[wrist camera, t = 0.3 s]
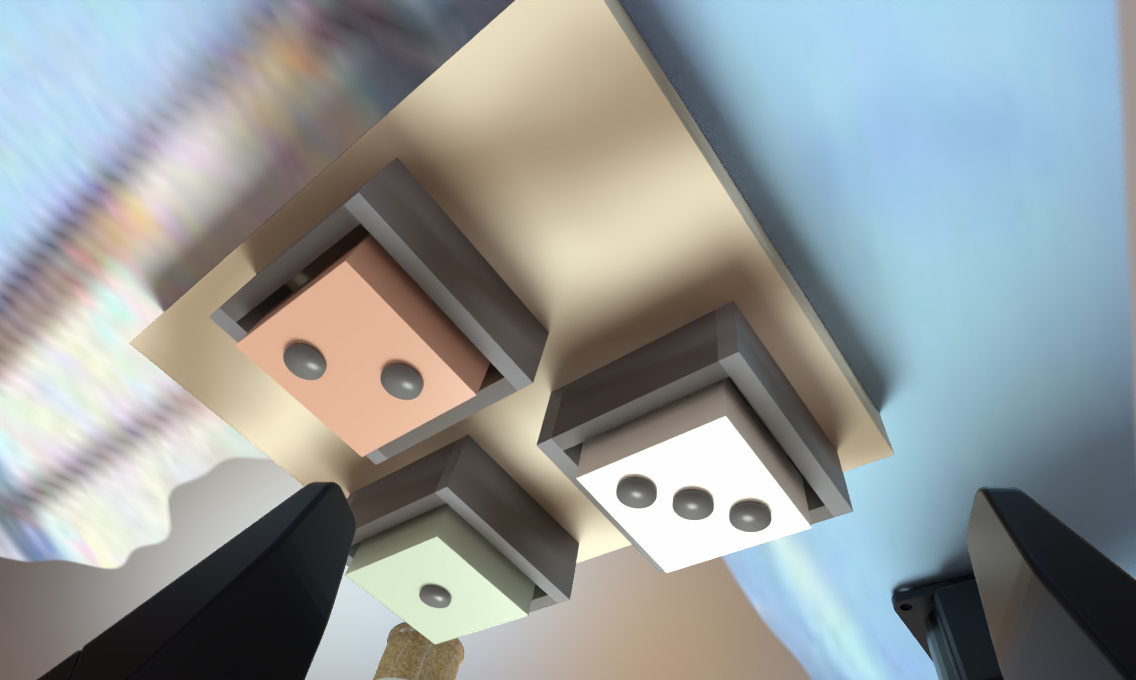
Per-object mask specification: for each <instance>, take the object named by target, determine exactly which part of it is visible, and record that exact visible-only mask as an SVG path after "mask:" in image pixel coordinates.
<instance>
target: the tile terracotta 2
mask: <svg viewBox="0 0 1136 680" xmlns="http://www.w3.org/2000/svg"><path fill="white" fill-rule="evenodd" d="M235 346H236V347H237V348H238V349H239V350H240V351H241V352H243V353H244V354H245V355H246V356H247V357H248V358H249V359H251V360H252V361H253V362H254V363H255V364H256V365H257V366H259V367H260V368H261V369H262V370H263V371H264V372H265V373H267V374H268V375H269V376H270V377H271V378H272V379H273V380H274V381H276V382H277V383H278V384H279V385H280V386H281V387H282V388H284V389H285V390H286V391H287V392H288V393H289V394H290V395H292V396H293V397H294V398H295V399H296V400H297V401H298V402H300V403H301V404H302V405H303V406H304V407H305V408H306V409H308V410H309V411H310V412H311V413H312V414H313V415H314V416H315V417H317V418H318V419H319V420H320V421H321V422H322V423H323V424H325V425H326V426H327V427H328V428H329V429H330V430H331V431H333V432H334V433H335V434H336V435H337V436H338V437H339V438H341V439H342V440H343V441H344V442H345V443H346V444H347V445H349V446H350V447H351V448H352V449H353V450H354V451H355V452H357V453H358V454H359V455H360V456H361V457H363V456H365V455H367V454H368V453H370V452H372V451H374V450H376V449H378V448H380V447H381V446H383V445H385V444H387V443H389V442H391V441H393V440H394V439H396V438H398V437H400V436H402V435H404V434H406V433H407V432H409V431H411V430H413V429H415V428H417V427H419V426H420V425H422V424H424V423H426V422H428V421H430V420H432V419H433V418H435V417H437V416H439V415H441V414H443V413H445V412H446V411H448V410H450V409H452V408H454V407H456V406H458V405H459V404H461V403H463V402H465V401H467V400H469V399H471V398H472V397H474V396H476V395H477V393H478V391H479V388H480V386H481V384H482V381H483V379H484V377H485V374H486V372H487V369H488V367H489V365H490V361H489V360H488V359H487V358H486V357H485V356H484V355H483V353H482V352H481V351H480V350H479V349H478V348H477V347H476V346H475V345H474V344H473V343H472V342H471V341H470V340H469V339H468V337H467V336H466V335H465V334H464V333H463V332H462V331H461V330H460V329H459V328H458V327H457V326H456V325H455V324H454V322H453V321H452V320H451V319H450V318H449V317H448V316H447V315H446V314H445V313H444V312H443V311H442V310H441V309H440V308H439V306H438V305H437V304H436V303H435V302H434V301H433V300H432V299H431V298H430V297H429V296H428V295H427V294H426V293H425V291H424V290H423V289H422V288H421V287H420V286H419V285H418V284H417V283H416V282H415V281H414V280H413V279H412V278H411V277H410V275H409V274H408V273H407V272H406V271H405V270H404V269H403V268H402V267H401V266H400V265H399V264H398V263H397V262H396V260H395V259H394V258H393V257H392V256H391V255H390V254H389V253H388V252H387V251H386V250H385V249H384V248H383V247H382V246H381V244H380V243H379V242H378V241H377V240H376V239H375V238H374V237H373V236H372V235H371V234H370V233H368V234H367V235H366V236H364V237H363V238H362V239H360V240H359V241H358V242H357V243H355V244H354V245H353V246H351V247H350V248H349V249H348V250H346V251H345V252H344V253H342V254H341V255H340V256H339V257H337V258H336V259H335V260H333V261H332V262H331V263H330V264H328V265H327V266H326V267H324V268H323V269H322V270H321V271H319V272H318V273H317V274H315V275H314V276H313V277H312V278H310V279H309V280H308V281H306V282H305V283H304V284H303V285H301V286H300V287H299V288H297V289H296V290H295V291H294V292H292V293H291V294H290V295H288V296H287V297H286V298H285V299H283V300H282V301H281V302H279V303H278V304H277V305H276V306H274V307H273V308H272V309H271V310H270V311H269V312H268V313H267V314H266V315H265V316H264V317H263V318H262V319H261V320H260V321H259V322H258V323H257V324H256V325H255V326H254V327H253V328H252V329H251V330H250V331H249V332H248V333H247V334H246V335H245V336H244V337H243V338H242V339H241V340H240V341H239V342H238V343H237V344H236V345H235Z"/></svg>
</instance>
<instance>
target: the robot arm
mask: <svg viewBox="0 0 1136 680" xmlns="http://www.w3.org/2000/svg"><path fill="white" fill-rule="evenodd" d="M355 532H356V518H355V515H354V513H353V511H352V509H351V507H350V505H349V502H348V500H347V498H346V496H345V494H344V492H343V490H342V488H341V487H340V485H338V484H337V483H336V482H311V483H309V484H308V485H306V486H305V487H303V488H302V489H300V490H299V491H298V492H296V493H295V494H293V495H292V496H291V497H289V498H288V499H287V500H285V501H284V502H282V503H281V504H280V505H278V506H277V507H276V508H274V509H273V510H271V511H270V512H269V513H267V514H266V515H264V516H263V517H262V518H260V519H259V520H258V521H256V522H255V523H253V524H252V525H251V526H249V527H248V528H246V529H245V530H244V531H242V532H241V533H240V534H238V535H237V536H235V537H234V538H233V539H231V540H230V541H229V542H227V543H226V544H224V545H223V546H222V547H220V548H219V549H217V550H216V551H215V552H214V553H212V554H211V555H209V556H208V557H206V558H205V559H204V560H202V561H201V562H199V563H198V564H197V565H195V566H194V567H192V568H191V569H190V570H188V571H187V572H186V573H184V574H183V575H181V576H180V577H179V578H178V579H176V580H175V581H173V582H172V583H170V584H169V585H168V586H166V587H165V588H163V589H162V590H161V591H159V592H158V593H156V594H155V595H154V596H152V597H151V598H150V599H148V600H147V601H145V602H144V603H143V604H141V605H140V606H139V607H137V608H136V609H134V610H133V611H132V612H130V613H129V614H128V615H126V616H125V617H123V618H122V619H121V620H119V621H118V622H116V623H115V624H114V625H112V626H111V627H109V628H108V629H107V630H105V631H104V632H103V633H101V634H100V635H98V636H97V637H96V638H94V639H93V640H92V641H90V642H89V643H87V644H86V645H85V646H84V647H83V649H82V650H78V651H76V652H75V653H73V654H72V655H70V656H69V657H68V658H67V659H65V660H64V661H62V662H61V663H60V664H58V665H57V666H56V667H54V668H53V669H51V670H50V671H49V672H47V673H46V674H44V675H43V676H42V677H40V678H38V679H37V680H305V678H306V675H307V672H308V670H309V668H310V665H311V663H312V661H313V658H314V656H315V653H316V651H317V648H318V646H319V644H320V641H321V639H322V636H323V634H324V631H325V628H326V626H327V623H328V620H329V617H330V614H331V611H332V608H333V605H334V602H335V599H336V595H337V592H338V589H339V585H340V582H341V579H342V575H343V572H344V569H345V566H346V562H347V559H348V556H349V552H350V549H351V546H352V543H353V539H354V536H355ZM966 537H967V547H968V551H969V555H970V559H971V562H972V566H973V570H974V574H973V575H969V576H965V577H961V578H957V579H953V580H949V581H945V582H941V583H937V584H933V585H929V586H925V587H921V588H917V589H913V590H908V591H904V592H900V593H897V594H895V595H894V596H892V599H891V600H892V604H893V607H894V610H895V611H896V613H897V614H898V616H899V617H900V618H901V620H902V621H903V622H904V624H905V625H906V626H907V628H908V629H909V630H910V632H911V633H912V634H913V636H914V637H915V638H916V640H917V641H918V642H919V644H920V645H921V646H922V648H923V649H924V650H925V652H926V653H927V654H928V656H929V657H930V658H931V660H932V661H933V662H934V665H935V669H936V672H937V675H938V678H939V680H1136V580H1135V579H1134V578H1133V577H1131V576H1130V575H1129V574H1127V573H1126V572H1125V571H1124V570H1122V569H1121V568H1120V567H1119V566H1117V565H1116V564H1115V563H1113V562H1112V561H1111V560H1110V559H1108V558H1107V557H1106V556H1105V555H1103V554H1102V553H1101V552H1099V551H1098V550H1097V549H1096V548H1094V547H1093V546H1092V545H1090V544H1089V543H1088V542H1087V541H1085V540H1084V539H1083V538H1082V537H1080V536H1079V535H1078V534H1076V533H1075V532H1074V531H1073V530H1071V529H1070V528H1069V527H1068V526H1066V525H1065V524H1064V523H1062V522H1061V521H1060V520H1059V519H1057V518H1056V517H1055V516H1054V515H1052V514H1051V513H1050V512H1048V511H1047V510H1046V509H1045V508H1043V507H1042V506H1041V505H1039V504H1038V503H1037V502H1036V501H1034V500H1033V499H1032V498H1031V497H1029V496H1028V495H1027V494H1025V493H1024V492H1023V491H1021V490H1019V489H1017V488H1014V487H982V488H980V489H979V490H978V491H977V493H976V495H975V499H974V503H973V507H972V511H971V515H970V520H969V524H968V528H967V536H966Z"/></svg>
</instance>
